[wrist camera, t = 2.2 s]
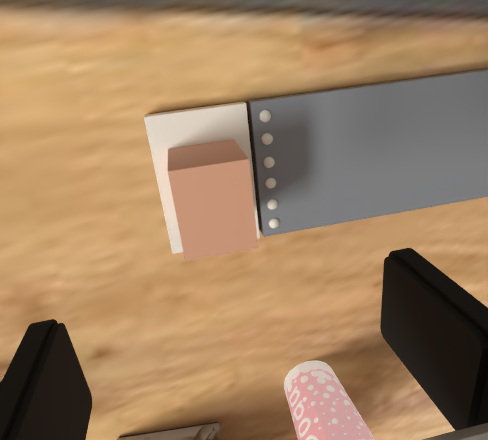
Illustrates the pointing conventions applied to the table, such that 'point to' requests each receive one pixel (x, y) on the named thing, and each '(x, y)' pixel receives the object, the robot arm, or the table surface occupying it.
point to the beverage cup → (322, 405)
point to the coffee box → (183, 434)
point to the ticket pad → (369, 150)
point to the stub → (205, 179)
